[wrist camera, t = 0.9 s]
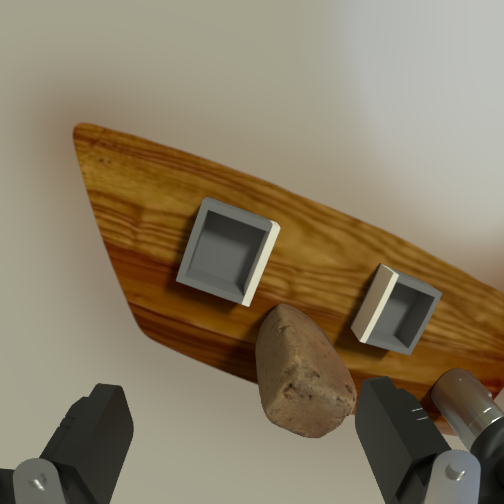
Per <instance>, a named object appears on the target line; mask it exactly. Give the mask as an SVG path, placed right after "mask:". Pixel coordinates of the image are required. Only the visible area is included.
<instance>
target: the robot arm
mask: <svg viewBox="0 0 504 504" xmlns="http://www.w3.org/2000/svg"><path fill="white" fill-rule="evenodd" d="M491 396H492V395H491V393H490V392H489V391H488V390H487V389H486V388H485V387H484V386H483V385H482V384H481V383H480V382H479V381H478V380H477V379H476V378H475V377H474V376H473V375H472V374H471V373H470V372H469V371H464V370H463V369H461V368H455V369H452V370H450V371H448V372H447V373H445V374H444V375H443V376H442V377H441V378H440V379H439V380H438V381H437V382H436V384H435V385H434V387H433V389H432V392H431V400H432V401H433V403H434V404H435V405H436V407H437V408H438V409H439V411H440V412H441V414H442V415H443V416H444V418H445V419H446V420H447V422H448V423H449V425H450V426H451V427H452V429H453V430H454V431H455V433H456V434H457V436H458V437H459V438H460V440H461V441H462V443H463V444H464V445H465V446H466V448H467V449H468V451H469V452H470V453H469V452H467V451H464V450H452V449H451V448H450V447H449V445H448V443H447V442H446V441H445V439H444V438H443V436H442V435H441V433H440V432H439V430H438V429H437V427H436V426H435V424H434V423H433V421H432V420H431V419H430V418H428V414H427V413H426V411H425V410H424V409H422V406H421V404H420V403H419V401H418V400H417V399H416V397H415V396H413V395H412V394H410V393H409V392H407V391H406V390H404V389H398V390H397V389H396V387H395V386H394V384H393V383H392V381H391V380H390V378H389V377H387V376H384V377H377V378H371V379H365V380H364V381H363V382H362V386H361V391H360V395H359V400H358V405H357V410H356V414H355V427H356V431H357V434H358V436H359V439H360V442H361V444H362V446H363V449H364V451H365V454H366V456H367V459H368V461H369V464H370V466H371V468H372V471H373V474H374V476H375V479H376V481H377V483H378V486H379V489H380V491H381V494H382V496H383V499H384V501H385V504H504V411H503V410H502V409H501V408H500V407H499V406H498V405H497V404H496V403H495V402H494V401H493V400H492V398H491ZM133 432H134V427H133V421H132V417H131V414H130V411H129V407H128V404H127V401H126V398H125V394H124V391H123V388H122V387H121V386H119V385H109V384H101V383H98V384H97V385H96V386H95V387H94V389H93V391H92V392H91V394H90V395H89V397H82V398H81V399H80V400H78V401H77V402H75V403H74V404H73V405H72V406H71V408H70V409H69V411H68V412H67V414H66V415H65V418H63V420H62V422H61V423H60V427H58V428H57V429H56V431H55V433H54V434H53V436H52V437H51V439H50V441H49V442H48V444H47V446H46V447H45V449H44V451H43V452H42V454H41V455H40V457H39V458H33V459H28V460H26V461H24V462H22V463H21V464H19V465H18V466H17V468H16V469H15V470H11V469H0V504H109V503H110V500H111V497H112V494H113V491H114V488H115V486H116V483H117V480H118V477H119V474H120V471H121V469H122V466H123V463H124V460H125V457H126V454H127V452H128V449H129V446H130V443H131V441H132V438H133Z"/></svg>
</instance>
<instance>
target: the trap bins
mask: <svg viewBox="0 0 504 504" xmlns="http://www.w3.org/2000/svg"><path fill="white" fill-rule="evenodd" d="M279 230H280V226H279V225H278V224H277V222H275V221H272V220H269V219H267V218H264V217H262V216H259V215H256V214H253V213H251V212H248V211H245V210H243V209H240V208H237V207H235V206H232V205H229V204H226V203H224V202H221V201H218V200H215V199H213V198H210V197H206V198H205V199H203V201H202V204H201V207H200V209H199V212H198V215H197V218H196V221H195V224H194V227H193V230H192V233H191V236H190V238H189V241H188V244H187V247H186V250H185V254H184V257H183V260H182V263H181V266H180V269H179V272H178V275H177V278H176V281H177V282H180V283H183V284H186V285H188V286H191V287H194V288H197V289H199V290H202V291H205V292H208V293H211V294H213V295H216V296H219V297H222V298H225V299H228V300H230V301H233V302H236V303H239V304H242V305H245V306H248V307H249V305H250V302H251V300H252V298H253V295H254V293H255V290H256V288H257V285H258V283H259V280H260V278H261V275H262V273H263V270H264V268H265V265H266V263H267V260H268V258H269V255H270V253H271V250H272V248H273V245H274V243H275V240H276V238H277V235H278V233H279ZM441 295H442V293H441V292H440V291H438V290H437V289H435V288H434V287H432V286H430V285H429V284H427V283H425V282H423V281H421V280H418V279H416V278H414V277H411V276H409V275H407V274H404V273H402V272H400V271H397V270H395V269H393V268H390V267H388V266H385V265H383V264H381V263H380V264H379V266H378V269H377V271H376V273H375V275H374V278H373V280H372V282H371V284H370V286H369V288H368V291H367V293H366V295H365V297H364V299H363V301H362V303H361V305H360V307H359V309H358V311H357V313H356V315H355V317H354V319H353V321H352V323H351V325H350V328H351V329H352V331H353V332H354V334H355V335H356V337H357V338H358V340H359V341H360V342H363V343H367V344H370V345H374V346H377V347H381V348H384V349H388V350H392V351H395V352H399V353H403V354H407V355H410V354H411V352H412V351H413V349H414V347H415V345H416V344H417V342H418V340H419V338H420V336H421V335H422V333H423V331H424V329H425V327H426V325H427V323H428V321H429V319H430V317H431V315H432V313H433V311H434V309H435V307H436V305H437V303H438V301H439V299H440V297H441Z"/></svg>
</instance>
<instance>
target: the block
mask: <svg viewBox="0 0 504 504" xmlns="http://www.w3.org/2000/svg"><path fill="white" fill-rule="evenodd" d="M255 355H256V366H257V378H258V385H259V392H260V397H261V403H262V407H263V410H264V412H265V414H266V416H267V418H268V419H269V420H270V421H271V422H272V423H273V424H275V425H277V426H279V427H281V428H284V429H286V430H289V431H291V432H292V433H295V434H297V435H300V436H303V437H308V438H320V437H322V436H324V435H326V434H327V433H329V432H330V431H333V430H334V429H336V428H337V427H338V426H339V425H341V424H342V422H343V420H344V419H345V417H346V416H349V415H350V414H351V413H352V411H353V409H354V406H355V403H356V397H357V392H356V389H355V385H354V383H353V380H352V378H351V375H350V373H349V371H348V369H347V367H346V366H345V364H344V363H343V361H342V359H341V358H340V356H339V355H338V353H337V352H336V351H335V350H334V348H333V345H332V343H331V342H330V340H329V338H328V337H327V336H326V334H325V333H324V332H323V331H322V330H321V329H320V328H319V326H318V325H317V324H316V323H315V322H314V321H312V320H311V319H310V318H309V317H308V316H307V315H305V314H304V313H302V312H301V311H300V310H298V309H296V308H294V307H292V306H290V305H287V304H279V305H277V306H276V307H275V308H274V309H273V310H272V311H271V312H270V313H269V314H268V316H267V317H266V318H265V320H264V321H263V323H262V325H261V328H260V331H259V334H258V338H257V340H256V350H255Z"/></svg>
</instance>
